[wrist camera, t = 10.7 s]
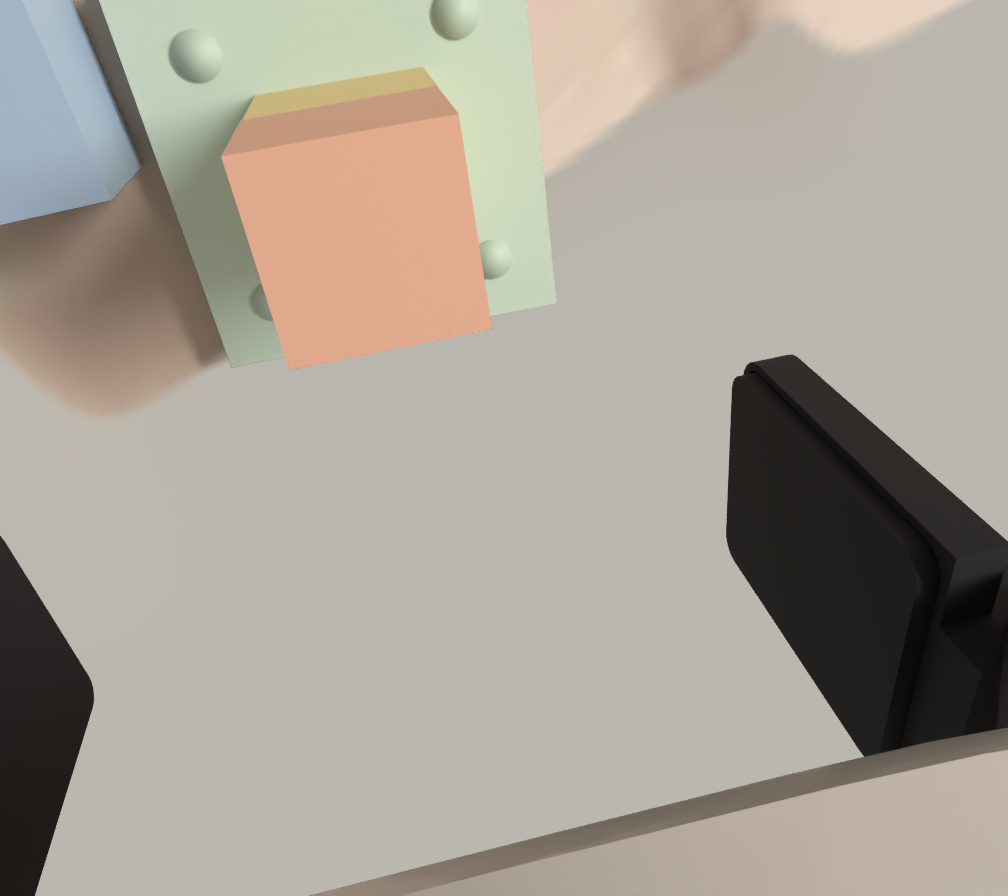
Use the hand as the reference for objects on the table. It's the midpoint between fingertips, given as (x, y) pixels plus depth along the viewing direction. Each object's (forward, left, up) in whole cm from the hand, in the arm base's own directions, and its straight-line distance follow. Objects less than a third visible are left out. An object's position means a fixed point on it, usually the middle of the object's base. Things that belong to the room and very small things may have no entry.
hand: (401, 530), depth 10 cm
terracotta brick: (+1, 0, -18) cm, 18 cm away
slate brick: (-3, -11, -24) cm, 27 cm away
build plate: (+1, 0, -24) cm, 24 cm away
